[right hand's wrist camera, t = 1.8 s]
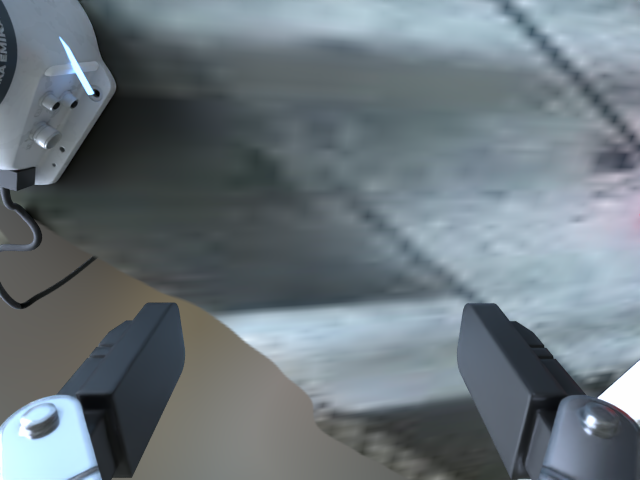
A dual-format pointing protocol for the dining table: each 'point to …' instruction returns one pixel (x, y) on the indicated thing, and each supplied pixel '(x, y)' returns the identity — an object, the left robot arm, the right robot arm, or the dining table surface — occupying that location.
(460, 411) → the dining table surface
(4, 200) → the left robot arm
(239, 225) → the dining table surface
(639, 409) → the relief map
